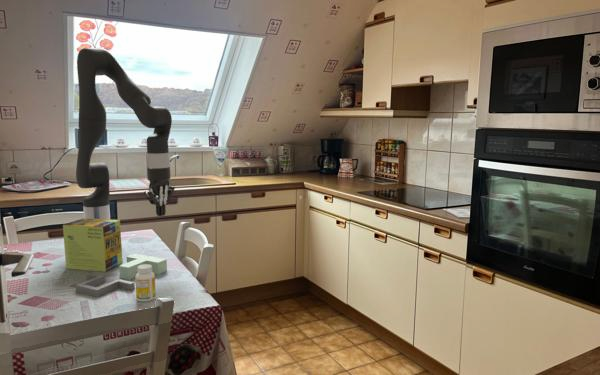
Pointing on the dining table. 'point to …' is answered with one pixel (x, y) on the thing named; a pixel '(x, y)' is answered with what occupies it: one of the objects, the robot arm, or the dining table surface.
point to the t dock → (97, 279)
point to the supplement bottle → (145, 283)
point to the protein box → (92, 244)
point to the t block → (135, 260)
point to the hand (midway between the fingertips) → (161, 215)
